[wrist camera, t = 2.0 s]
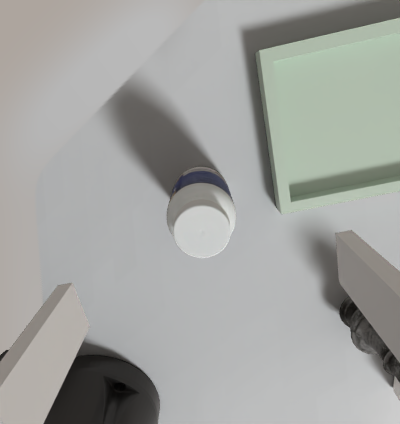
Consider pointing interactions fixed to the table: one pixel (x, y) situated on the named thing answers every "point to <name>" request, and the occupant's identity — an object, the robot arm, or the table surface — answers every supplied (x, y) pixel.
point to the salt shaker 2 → (396, 387)
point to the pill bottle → (201, 212)
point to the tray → (333, 116)
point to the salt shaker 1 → (367, 336)
